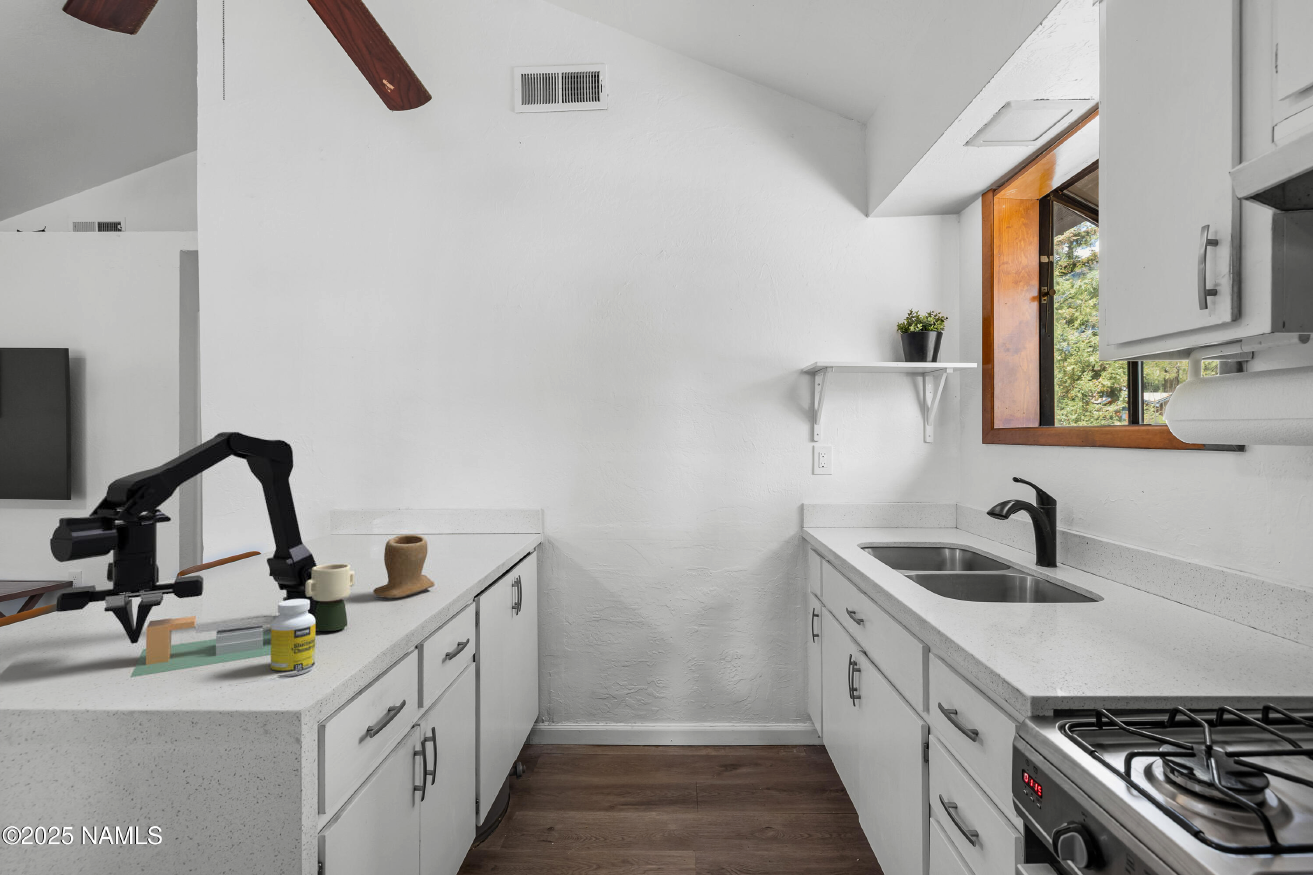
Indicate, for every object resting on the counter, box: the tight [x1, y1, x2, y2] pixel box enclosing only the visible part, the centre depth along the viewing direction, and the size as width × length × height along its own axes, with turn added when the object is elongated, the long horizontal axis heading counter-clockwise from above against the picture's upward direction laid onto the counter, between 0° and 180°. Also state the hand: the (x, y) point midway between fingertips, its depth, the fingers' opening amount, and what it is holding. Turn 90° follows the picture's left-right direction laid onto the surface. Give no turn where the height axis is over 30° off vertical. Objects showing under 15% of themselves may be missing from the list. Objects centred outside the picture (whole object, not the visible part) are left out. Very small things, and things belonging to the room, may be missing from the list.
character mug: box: [306, 563, 356, 633], centre depth 128 cm, size 11×7×13 cm, turn 155°
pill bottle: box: [270, 599, 316, 678], centre depth 105 cm, size 6×6×12 cm
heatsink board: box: [130, 626, 271, 678], centre depth 113 cm, size 23×16×6 cm
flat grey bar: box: [195, 614, 279, 634], centre depth 114 cm, size 14×4×1 cm, turn 124°
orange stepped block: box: [145, 615, 197, 665], centre depth 109 cm, size 6×5×6 cm
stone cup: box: [372, 533, 435, 599], centre depth 158 cm, size 15×12×15 cm
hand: (134, 642), depth 106 cm, fingers closed
